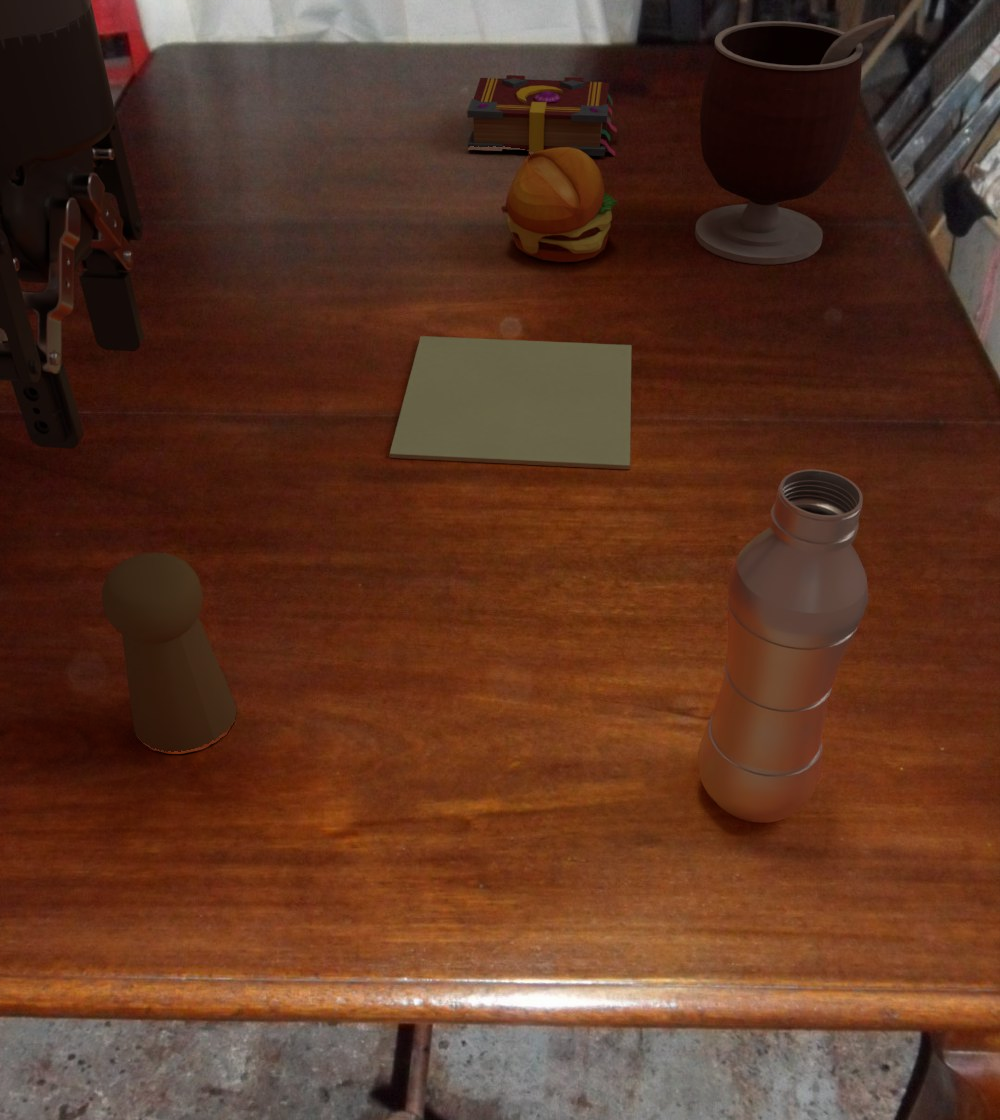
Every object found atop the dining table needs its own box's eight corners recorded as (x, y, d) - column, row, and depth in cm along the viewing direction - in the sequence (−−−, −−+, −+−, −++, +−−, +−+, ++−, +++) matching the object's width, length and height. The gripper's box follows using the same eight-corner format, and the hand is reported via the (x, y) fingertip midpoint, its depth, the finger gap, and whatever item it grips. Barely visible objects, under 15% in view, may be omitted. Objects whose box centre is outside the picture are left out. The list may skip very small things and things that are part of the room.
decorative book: (479, 116, 138) (479, 70, 135) (618, 122, 137) (621, 75, 134) (468, 154, 131) (467, 105, 127) (614, 160, 129) (618, 111, 126)
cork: (121, 701, 71) (74, 555, 63) (218, 670, 73) (184, 524, 65) (149, 768, 67) (102, 622, 59) (251, 733, 69) (219, 586, 61)
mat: (389, 458, 89) (389, 453, 89) (420, 340, 102) (420, 335, 101) (629, 469, 88) (630, 465, 88) (631, 349, 101) (631, 344, 100)
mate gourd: (673, 257, 113) (699, 22, 99) (700, 200, 122) (727, -23, 108) (839, 279, 110) (890, 39, 95) (853, 218, 119) (902, -8, 105)
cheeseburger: (630, 230, 117) (631, 135, 108) (590, 300, 112) (587, 207, 103) (536, 210, 119) (529, 116, 111) (492, 278, 115) (482, 185, 106)
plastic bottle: (752, 858, 63) (827, 558, 49) (667, 780, 67) (713, 481, 52) (837, 803, 66) (931, 504, 51) (750, 731, 69) (816, 434, 55)
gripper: (-33, -53, 49) (69, 316, 61) (-213, 60, 39) (-50, 475, 51) (144, -48, 48) (212, 324, 60) (7, 68, 39) (120, 486, 50)
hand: (92, 392), depth 55 cm, fingers open, 8 cm apart
